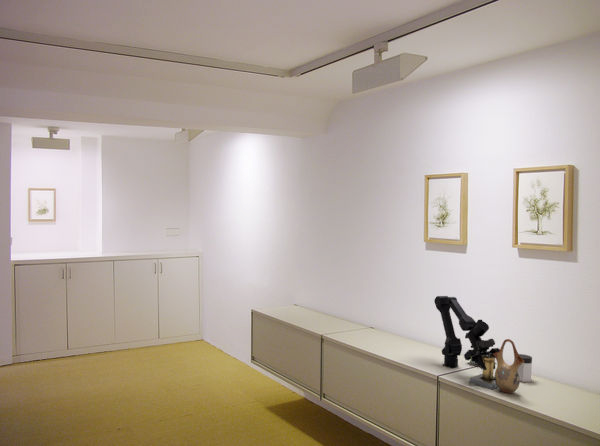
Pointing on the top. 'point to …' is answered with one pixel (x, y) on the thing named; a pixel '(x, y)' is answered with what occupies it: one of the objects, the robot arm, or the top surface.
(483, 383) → the grey square flat frame
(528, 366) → the jar
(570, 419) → the top surface
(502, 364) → the ceramic vessel
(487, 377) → the brass goblet
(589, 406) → the top surface
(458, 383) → the top surface
